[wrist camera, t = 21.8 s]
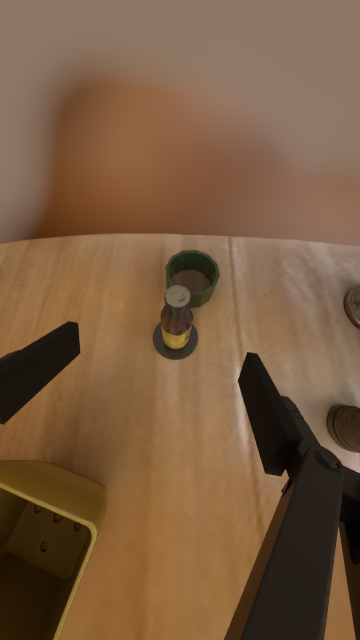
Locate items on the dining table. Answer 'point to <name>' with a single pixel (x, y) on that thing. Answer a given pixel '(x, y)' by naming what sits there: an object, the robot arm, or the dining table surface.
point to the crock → (198, 263)
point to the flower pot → (30, 532)
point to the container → (345, 427)
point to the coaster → (174, 353)
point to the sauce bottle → (176, 317)
